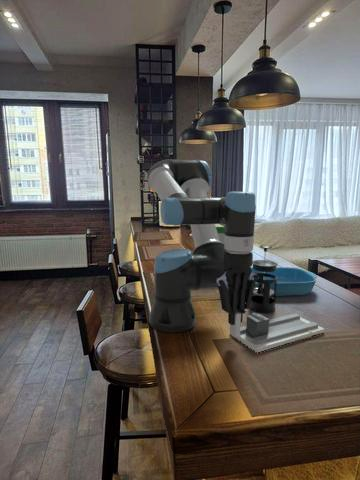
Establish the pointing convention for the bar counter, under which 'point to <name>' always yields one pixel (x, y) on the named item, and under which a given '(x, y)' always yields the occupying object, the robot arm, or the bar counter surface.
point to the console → (280, 332)
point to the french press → (264, 286)
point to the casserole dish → (290, 281)
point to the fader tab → (257, 325)
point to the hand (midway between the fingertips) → (234, 334)
